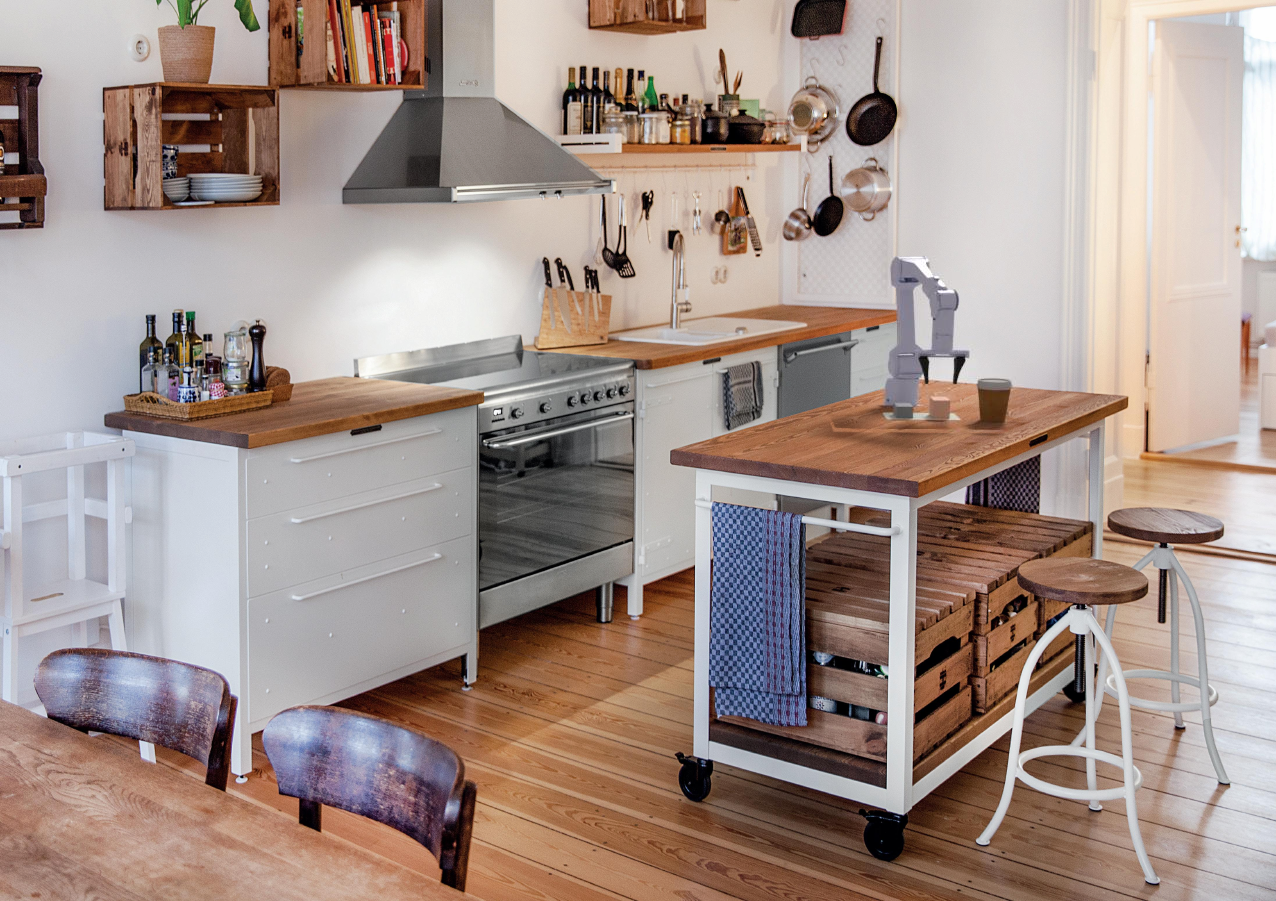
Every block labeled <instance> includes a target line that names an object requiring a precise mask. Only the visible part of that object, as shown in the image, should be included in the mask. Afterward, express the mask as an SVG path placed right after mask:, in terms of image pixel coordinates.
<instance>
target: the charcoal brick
mask: <svg viewBox="0 0 1276 901" xmlns="http://www.w3.org/2000/svg"><path fill="white" fill-rule="evenodd" d="M892 413H893V414H894V416H895V417H896V418H913V413H914V406H912V405H911V403H894V405H893V412H892Z"/></svg>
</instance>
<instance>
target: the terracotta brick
mask: <svg viewBox="0 0 1276 901" xmlns="http://www.w3.org/2000/svg"><path fill="white" fill-rule="evenodd" d="M928 410H929V411H928V413H929V415H930V416H931V417H932V418H942V419H950V413H951V399H950V398H948V397H947V396H929V408H928Z"/></svg>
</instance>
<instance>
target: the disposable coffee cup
mask: <svg viewBox="0 0 1276 901" xmlns="http://www.w3.org/2000/svg"><path fill="white" fill-rule="evenodd" d="M975 385H976V388H977V392H978V393H977V396H978V408H979V409H978V410H979V420H980V421H981V422H984V423H1004V422H1006V418H1007V412H1008V406H1009V400H1010V394H1011V390H1012V387H1013V384H1012V380H1011V379H1007V378H998V377H997V378H995V377H993V378H991V377H990V378H989V377H987V378H978V379H977V383H976V384H975Z"/></svg>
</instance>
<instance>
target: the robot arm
mask: <svg viewBox="0 0 1276 901" xmlns="http://www.w3.org/2000/svg"><path fill="white" fill-rule="evenodd" d="M930 268H931V266H930V260H929V259H928V257H927V256H925V255H922V256H897V255H896V256H895V257H893V259H892V261H891V264H890V268H889V269H890V283H891V286H892V287H894V288H895V293H896V294H895V298H896V299H895V300H896V318H897V319H896V320H897V323H896V324H897V340H898V341H897V342H898V343H897V345H895V346H894V347H893V348H892V349H891V350H890V351H889V353H888V354H889V356H888V362H887V369H888V373H889V374H890V376H889V377H888V378H887V379H886V382H885V383H884V384H885V385H884V402H883V403H884V404H882V406H894V403H911V405H912V406H913V407H915V406H916V407H918V406H919V407H923V406H924V405H922V404H919V388H920V386H919V384H920V378H922V376H923V379H924V384H925V385H929V371H930V370H929V369H930V360H929V359H930V358H948V359H949V358H950V359H951V358H953V374H952V376H953V377H952V384H953V385H957V384H958V379H959V376H960V373H961V371H962V369H963V367H964V365H965V363H966V361H967V360H966V359H969V358H970V350H969V349H968V350H967V349H954V332H955V331H954V329H955V327H954V326H955V312H956V311H957V310H958V308H959V304H960V297H959V293H958V292H957V290H956V289H949V288H948V287H947V285H946V284H945V283H944V281H942V279H941V278H940V277H939V276H935V275H933V274H932V271H931V270H930ZM919 286H921V289H922V292H923V293H924V295H925V296H926V298H928V301H929V308H930V316H931V318H932V327H931V328H932V329H931V349H923V348H922V347H920V346H919V345H918V344H917V343H916V325H915V323H916V322H915V303H914V291H915V288H917V287H919Z"/></svg>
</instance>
